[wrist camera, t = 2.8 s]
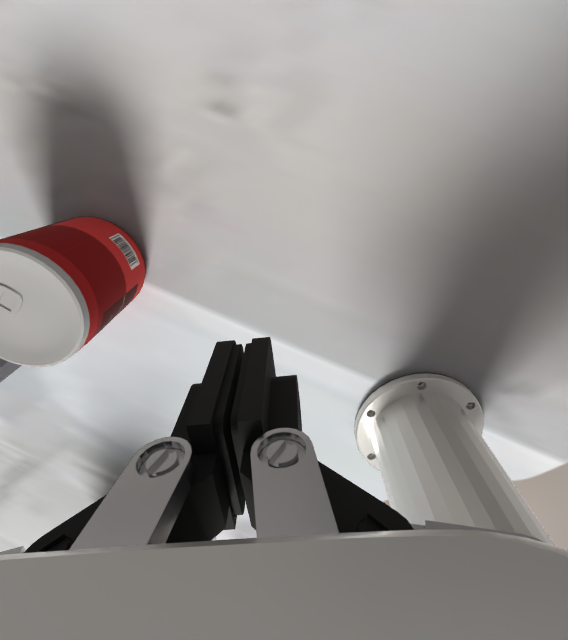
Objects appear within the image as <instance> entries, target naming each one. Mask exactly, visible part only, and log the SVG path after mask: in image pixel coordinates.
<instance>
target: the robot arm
mask: <svg viewBox="0 0 568 640" xmlns="http://www.w3.org/2000/svg"><path fill="white" fill-rule="evenodd" d="M483 427H484V416H483V412H482V408H481V406H480V404H479V402H478V401H477V399H476V398H475V396H474V395H473V394H472V393H471V391H470V390H469V389H468V388H466V387H465V386H464V385H463V384H462V383H460V382H458V381H456V380H454V379H452V378H449V377H446V376H443V375H438V374H429V373H426V374H413V375H408V376H403V377H400V378H398V379H395V380H392V381H390V382H388V383H387V384H385V385H383V386H381V387H380V388H378V389H377V390H376V391H375V392H373V393H372V394H371V395H370V396H369V397H368V398H367V400H366V401H365V402H364V403H363V405H362V406H361V408H360V410H359V412H358V414H357V417H356V421H355V430H354V431H355V437H356V442H357V446H358V449H359V451H360V453H361V454H362V456H363V458H364V459H365V460H366V461H367V462H368V463H369V464H370V465H371V466H373V467H374V468H376V469H377V470H379V471H381V475H382V478H383V482H384V485H385V489H386V492H387V496H388V499H389V503H390V507H389V506H388V505H386V504H385V503H383V502H382V501H380V500H378V499H377V498H375V497H374V496H372V495H371V494H369V493H367V492H366V491H364V490H363V489H361V488H360V487H358V486H357V485H355V484H353V483H352V482H350V481H349V480H347V479H346V478H344V477H342V476H341V475H339V474H338V473H336V472H335V471H333V470H331V469H330V468H328V467H327V466H325V465H324V464H322V463H320V462H319V461H317V457H316V454H315V451H314V447H313V444H312V442H311V440H310V438H309V437H308V436H307V435H306V434H305V433H303V432H302V424H301V410H300V399H299V390H298V381H297V375H291V376H280V377H276V374H275V367H274V359H273V352H272V345H271V339H270V337H265V338H254V339H252V343H249V344H246V347H245V352H243V347H242V344H238V345H236V342H235V340H233V341H222V342H217V343H216V345H215V348H214V351H213V354H212V356H211V359H210V362H209V364H208V367H207V370H206V373H205V375H204V378H203V381H202V383H200V384H193V385H192V386H191V388H190V390H189V393H188V395H187V398H186V400H185V403H184V405H183V408H182V410H181V412H180V415H179V417H178V420H177V422H176V425H175V427H174V430H173V432H172V434H171V437H165V438H161V439H158V440H155V441H153V442H151V443H149V444H147V445H145V446H144V447H143V448H141V449H140V450H139V451H138V452H137V453H136V454H135V455H134V456H133V458H132V459H131V461H130V462H129V463H128V465H127V466H126V468H125V469H124V471H123V472H122V474H121V475H120V477H119V478H118V479H117V481H116V482H115V484H114V485H113V487H112V488H111V490H110V491H109V492H108V494H107V495H105V496H104V497H102V498H101V499H99V500H98V501H96V502H95V503H93V504H91V505H90V506H88V507H87V508H85V509H84V510H82V511H81V512H79V513H78V514H76V515H74V516H73V517H71V518H70V519H68V520H67V521H65V522H64V523H62V524H60V525H59V526H57V527H56V528H54V529H53V530H51V531H50V532H48V533H47V534H45V535H43V536H42V537H41V538H39V539H38V540H37V541H36V542H34V543H33V544H32V545H31V546H30V547H29V548H28V549H27V550H25V549H24V547H23V546H22V547H18V548H14V549H11V550H7V551H3V552H0V640H568V550H567V549H564V548H562V547H558V546H556V545H555V544H554V543H553V541H552V540H551V539H550V537H549V535H548V534H547V532H546V531H545V529H544V528H543V526H542V525H541V523H540V522H539V520H538V519H537V518H536V516H535V514H534V513H533V512H532V510H531V509H530V507H529V506H528V504H527V503H526V501H525V500H524V498H523V497H522V496H521V494H520V492H519V491H518V489H517V488H516V486H515V485H514V483H513V482H512V481H511V479H510V478H509V476H508V475H507V473H506V472H505V470H504V469H503V467H502V466H501V464H500V463H499V461H498V460H497V458H496V457H495V456H494V454H493V453H492V451H491V450H490V448H489V447H488V445H487V444H486V442H485V441H484V439H483V438H482V436H481V435H482V431H483ZM245 500H246V505H247V509H248V513H249V517H250V522H251V526H252V527H253V528H254V529H255V530H256V532H257V538H247V539H230V540H216V536H217V535H218V534H219V533H220V532H221V531H223V530H229V529H235V526H236V518H237V515H243V513H244V508H245Z"/></svg>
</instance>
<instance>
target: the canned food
mask: <svg viewBox="0 0 568 640" xmlns="http://www.w3.org/2000/svg"><path fill="white" fill-rule="evenodd" d="M144 278H145V262H144V258H143V255H142V253H141V250H140V249H139V247H138V245H137V244H136V242H135V241H134V240H133V239H132V237H131V236H130V235H129V234H128V233H126V232H125V231H124V230H123V229H122V228H120V227H118V226H117V225H115V224H113V223H111V222H108V221H105V220H102V219H98V218H93V217H77V218H72V219H69V220H65V221H62V222H58V223H55V224H51V225H48V226H45V227H41V228H38V229H34V230H31V231H27V232H24V233H20V234H17V235H14V236H10V237H7V238H3V239H0V358H1V359H3V360H6V361H8V362H12V363H15V364H18V365H23V366H29V367H46V366H51V365H55V364H58V363H60V362H63V361H65V360H66V359H68V358H69V357H71V356H72V355H74V354H75V353H76V352H78V351H79V350H80V349H81V348H82V347H83V346H84V345H86V344H87V343H88V342H89V341H90V340H91V339H92V338H93V337H94V336H95V335H96V334H97V333H98V332H100V331H101V330H102V329H103V328H104V327H105V326H106V325H107V324H108V323H109V322H110V321H111V320H112V319H113V318H114V317H115V316H116V315H117V314H118V313H120V312H121V311H122V310H123V309H124V308H125V307H126V306H127V305H128V304H129V303H130V302H131V301H132V300H133V299H134V298H135V297H136V296H137V295H138V294H139V292H140V290H141V288H142V286H143V283H144Z"/></svg>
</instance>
